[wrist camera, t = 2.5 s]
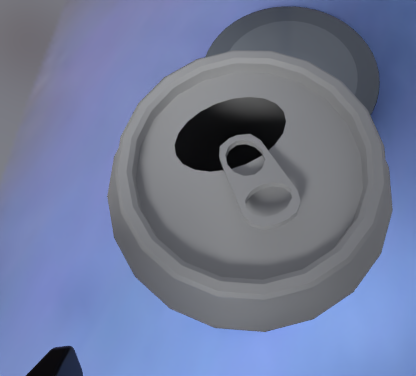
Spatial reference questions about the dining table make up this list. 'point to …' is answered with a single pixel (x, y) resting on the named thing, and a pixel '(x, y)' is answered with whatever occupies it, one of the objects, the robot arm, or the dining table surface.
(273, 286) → the can
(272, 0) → the dining table surface
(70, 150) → the dining table surface
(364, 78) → the dish
